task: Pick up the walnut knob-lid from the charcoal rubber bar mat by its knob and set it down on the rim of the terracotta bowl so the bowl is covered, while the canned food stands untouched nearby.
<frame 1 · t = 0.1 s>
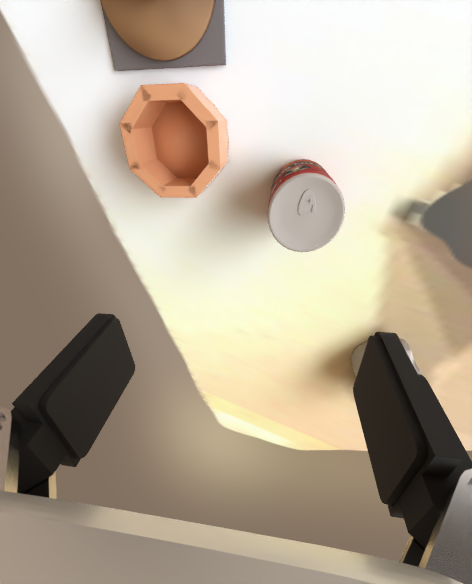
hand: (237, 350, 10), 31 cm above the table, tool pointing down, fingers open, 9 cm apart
coffee mug: (383, 350, 49), on the table
canned food: (299, 190, 36), on the table
bowl: (186, 142, 35), on the table
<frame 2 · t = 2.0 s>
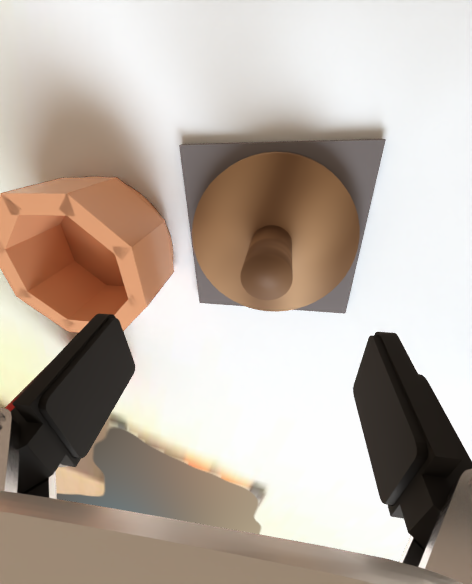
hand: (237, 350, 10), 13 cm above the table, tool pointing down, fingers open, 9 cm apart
bowl: (114, 242, 24), on the table
mat: (272, 236, 21), on the table
lid: (272, 239, 21), point 1 cm above the table, touching mat
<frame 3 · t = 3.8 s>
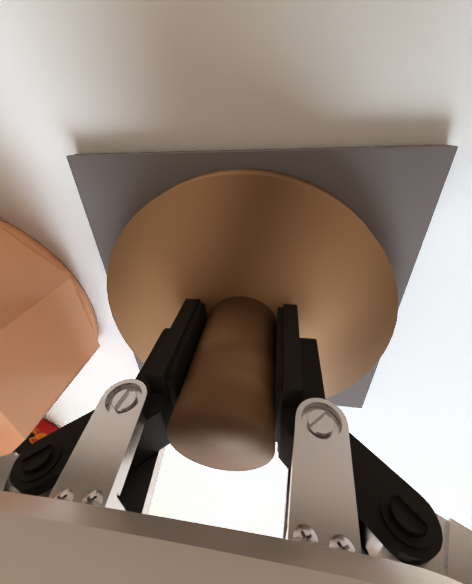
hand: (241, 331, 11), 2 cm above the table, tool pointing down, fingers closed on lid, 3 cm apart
canned food: (33, 429, 25), on the table
bowl: (6, 302, 15), on the table
mat: (246, 301, 13), on the table
lid: (245, 308, 12), point 1 cm above the table, touching gripper, mat
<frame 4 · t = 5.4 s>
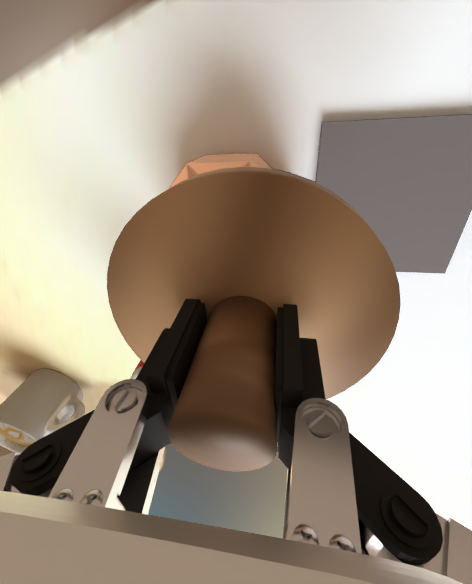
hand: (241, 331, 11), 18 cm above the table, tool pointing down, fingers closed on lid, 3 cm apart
coffee mug: (67, 388, 50), on the table
bowl: (235, 214, 27), on the table
mat: (387, 203, 24), on the table
lid: (246, 308, 12), point 16 cm above the table, touching gripper
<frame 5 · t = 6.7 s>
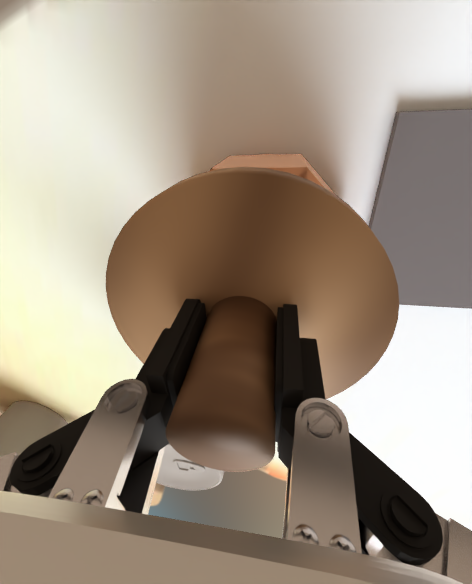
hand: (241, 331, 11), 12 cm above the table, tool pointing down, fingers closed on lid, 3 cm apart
coffee mug: (51, 421, 44), on the table
canned food: (207, 359, 30), on the table
bowl: (263, 233, 21), on the table
mat: (471, 223, 18), on the table
lid: (245, 308, 12), point 10 cm above the table, touching gripper
when the fingers open (9 cm above the table, at t = 7.4 s): lid drops 2 cm, resting on bowl.
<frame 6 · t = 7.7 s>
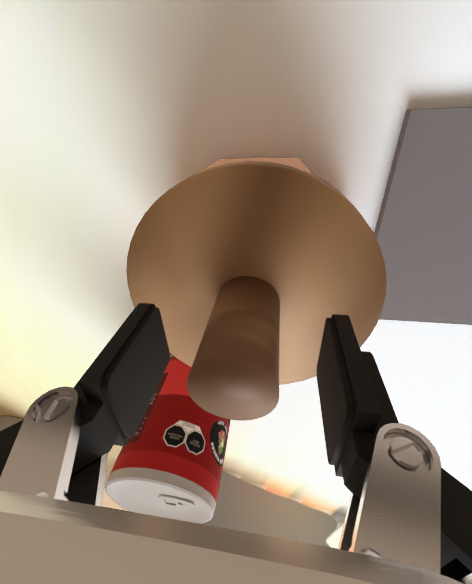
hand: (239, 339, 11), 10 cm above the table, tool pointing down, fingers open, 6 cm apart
canned food: (199, 375, 28), on the table
bowl: (257, 244, 19), on the table
lid: (250, 289, 14), point 6 cm above the table, touching bowl
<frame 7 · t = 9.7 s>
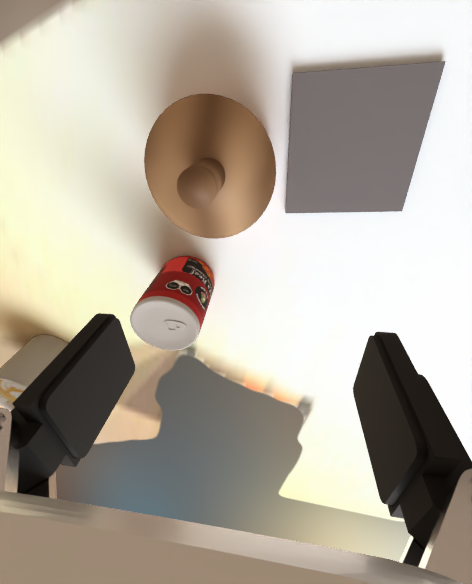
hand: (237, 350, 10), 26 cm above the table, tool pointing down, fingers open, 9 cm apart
coffee mug: (64, 354, 53), on the table
canned food: (189, 277, 39), on the table
mat: (351, 148, 28), on the table
lid: (211, 173, 25), point 6 cm above the table, touching bowl
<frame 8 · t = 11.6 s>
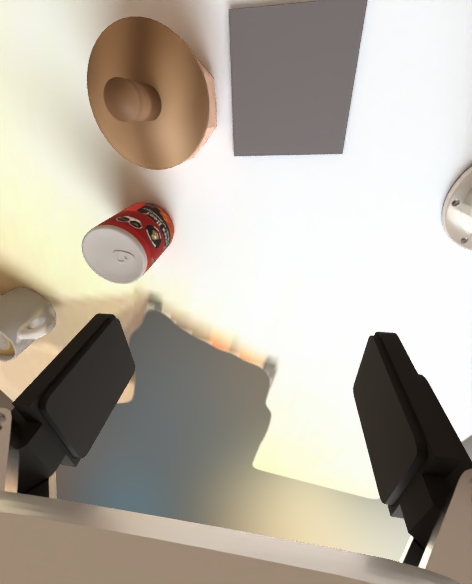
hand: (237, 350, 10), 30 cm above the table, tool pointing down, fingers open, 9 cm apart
coffee mug: (41, 308, 55), on the table
canned food: (151, 225, 41), on the table
bowl: (171, 105, 32), on the table
mat: (290, 88, 30), on the table
lid: (151, 103, 27), point 6 cm above the table, touching bowl
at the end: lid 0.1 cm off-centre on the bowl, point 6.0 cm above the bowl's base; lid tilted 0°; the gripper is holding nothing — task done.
